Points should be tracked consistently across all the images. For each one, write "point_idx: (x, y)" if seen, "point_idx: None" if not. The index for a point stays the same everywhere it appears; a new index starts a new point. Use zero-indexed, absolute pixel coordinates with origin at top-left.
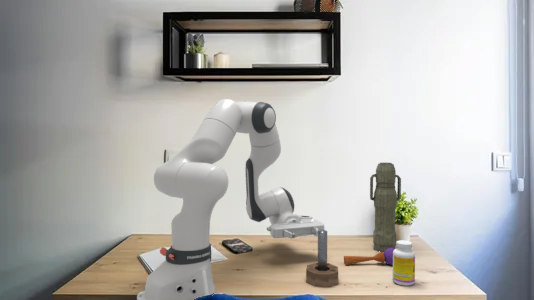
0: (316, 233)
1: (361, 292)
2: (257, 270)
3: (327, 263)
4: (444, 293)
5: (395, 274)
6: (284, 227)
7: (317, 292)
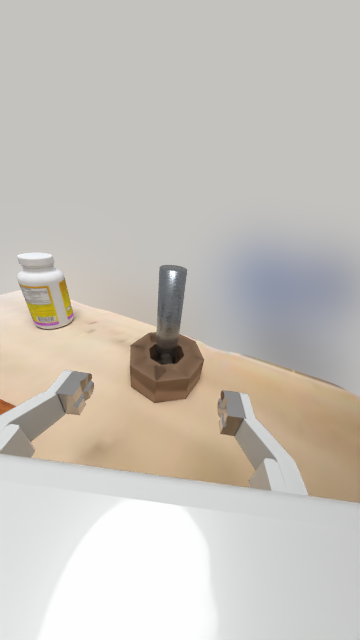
0: (89, 377)
1: (140, 325)
2: None
3: (134, 366)
4: None
5: (69, 309)
6: (312, 520)
7: (198, 345)
